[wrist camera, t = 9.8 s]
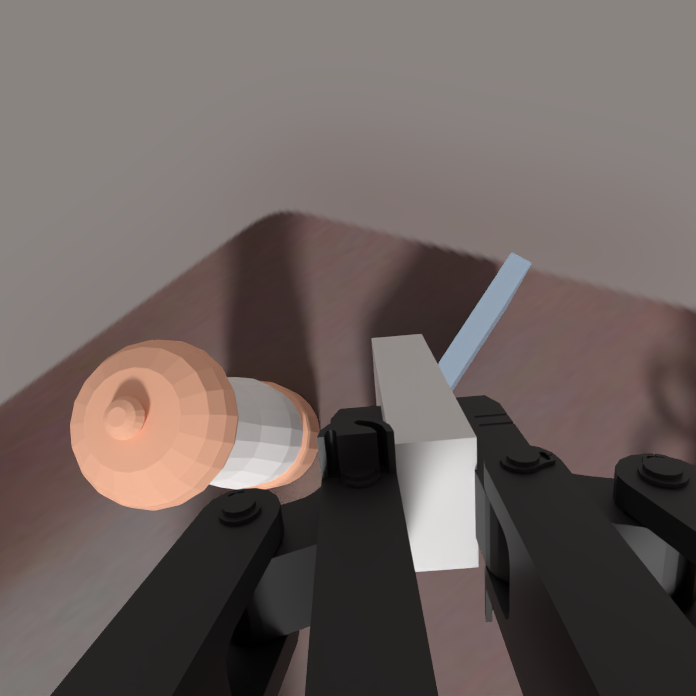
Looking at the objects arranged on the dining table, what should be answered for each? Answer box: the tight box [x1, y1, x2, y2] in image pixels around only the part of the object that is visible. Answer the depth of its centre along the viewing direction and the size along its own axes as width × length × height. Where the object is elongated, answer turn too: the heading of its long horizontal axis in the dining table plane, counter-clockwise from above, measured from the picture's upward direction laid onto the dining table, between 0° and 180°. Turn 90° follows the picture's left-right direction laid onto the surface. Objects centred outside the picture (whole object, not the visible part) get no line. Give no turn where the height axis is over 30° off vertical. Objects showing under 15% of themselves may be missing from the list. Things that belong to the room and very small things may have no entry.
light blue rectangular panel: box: [438, 252, 532, 391], centre depth 30 cm, size 15×1×8 cm, turn 146°
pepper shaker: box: [70, 340, 320, 511], centre depth 27 cm, size 7×7×19 cm
